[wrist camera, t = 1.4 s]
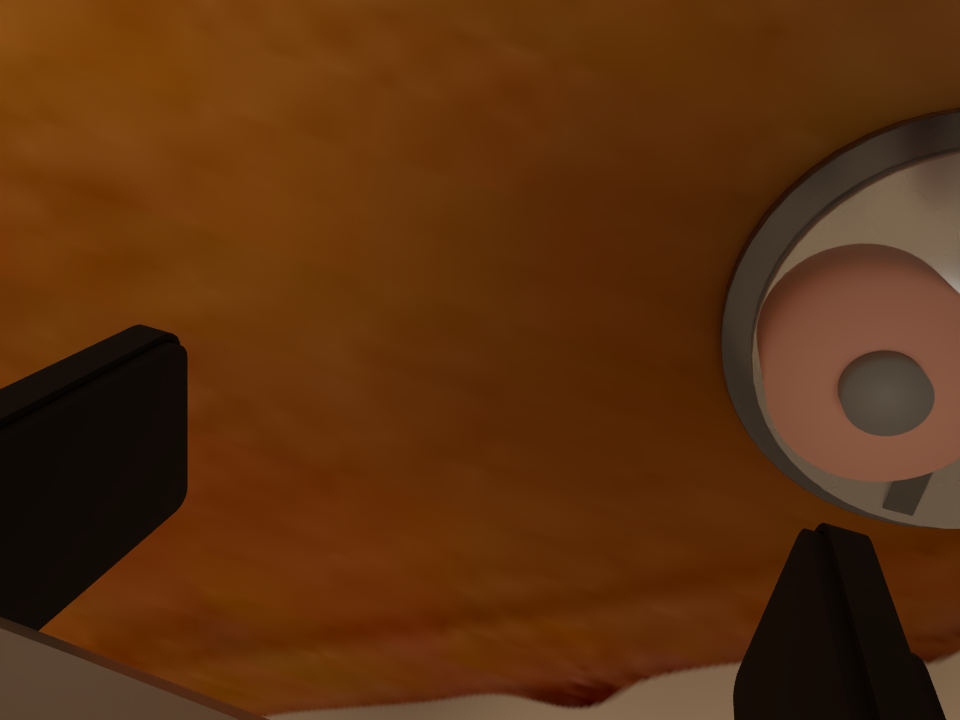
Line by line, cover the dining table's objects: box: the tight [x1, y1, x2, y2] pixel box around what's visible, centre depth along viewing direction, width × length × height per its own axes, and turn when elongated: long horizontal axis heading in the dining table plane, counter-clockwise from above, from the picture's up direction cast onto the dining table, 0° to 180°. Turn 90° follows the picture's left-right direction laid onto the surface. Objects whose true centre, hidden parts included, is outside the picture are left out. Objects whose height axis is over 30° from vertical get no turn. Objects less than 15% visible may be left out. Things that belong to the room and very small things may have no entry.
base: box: [721, 108, 960, 528], centre depth 25 cm, size 15×15×1 cm
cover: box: [756, 243, 960, 482], centre depth 22 cm, size 6×6×5 cm
